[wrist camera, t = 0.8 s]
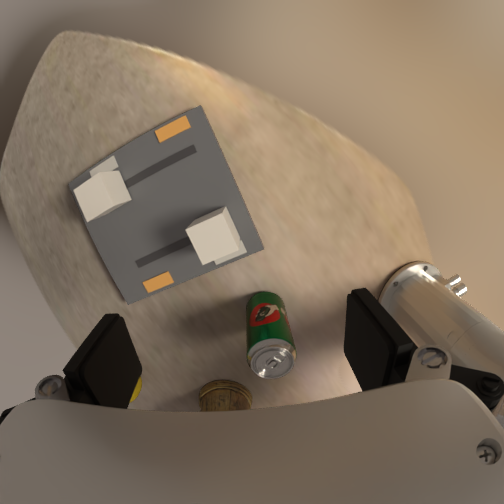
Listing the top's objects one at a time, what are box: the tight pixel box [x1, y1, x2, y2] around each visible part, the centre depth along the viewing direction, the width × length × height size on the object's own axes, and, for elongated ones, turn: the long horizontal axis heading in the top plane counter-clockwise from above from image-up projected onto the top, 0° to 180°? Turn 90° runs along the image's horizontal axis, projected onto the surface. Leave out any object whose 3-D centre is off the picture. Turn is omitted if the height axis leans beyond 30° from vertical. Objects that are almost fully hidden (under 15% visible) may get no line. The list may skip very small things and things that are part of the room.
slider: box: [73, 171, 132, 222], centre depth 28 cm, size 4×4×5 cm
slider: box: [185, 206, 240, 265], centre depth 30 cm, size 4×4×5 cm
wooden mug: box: [199, 380, 252, 412], centre depth 34 cm, size 9×14×18 cm, turn 132°
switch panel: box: [68, 105, 264, 305], centre depth 32 cm, size 20×18×2 cm
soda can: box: [246, 292, 297, 379], centre depth 31 cm, size 5×5×12 cm
